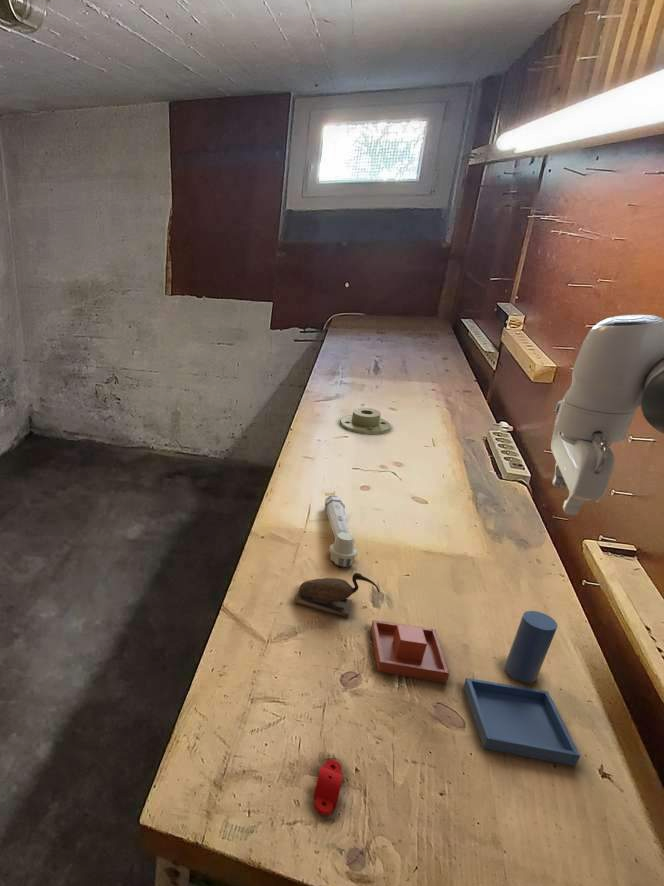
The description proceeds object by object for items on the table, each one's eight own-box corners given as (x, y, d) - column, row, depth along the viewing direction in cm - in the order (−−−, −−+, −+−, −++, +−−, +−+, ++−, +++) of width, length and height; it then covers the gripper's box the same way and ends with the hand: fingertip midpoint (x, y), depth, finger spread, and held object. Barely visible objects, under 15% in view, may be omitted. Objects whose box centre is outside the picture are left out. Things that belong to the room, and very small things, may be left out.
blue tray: (544, 700, 86) (548, 691, 85) (575, 766, 76) (580, 755, 75) (462, 687, 89) (466, 677, 88) (483, 748, 79) (487, 738, 78)
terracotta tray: (432, 638, 98) (435, 629, 98) (446, 682, 90) (449, 673, 89) (370, 628, 101) (372, 619, 100) (377, 671, 92) (380, 661, 91)
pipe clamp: (333, 819, 71) (335, 808, 70) (310, 809, 72) (312, 798, 71) (344, 767, 77) (346, 757, 76) (323, 759, 78) (325, 748, 77)
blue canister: (530, 665, 92) (550, 613, 88) (540, 685, 89) (562, 632, 84) (500, 660, 94) (518, 608, 89) (509, 680, 90) (528, 627, 85)
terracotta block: (417, 645, 96) (422, 627, 95) (422, 662, 93) (427, 644, 91) (392, 641, 97) (396, 623, 96) (396, 658, 94) (400, 640, 92)
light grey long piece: (345, 495, 137) (361, 539, 113) (342, 520, 139) (357, 568, 116) (322, 493, 138) (334, 536, 115) (319, 518, 140) (330, 565, 117)
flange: (384, 404, 189) (338, 404, 191) (397, 421, 176) (348, 420, 178) (382, 417, 192) (336, 416, 193) (395, 434, 178) (346, 433, 180)
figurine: (375, 610, 105) (383, 572, 102) (372, 625, 102) (380, 587, 98) (299, 589, 112) (304, 553, 108) (294, 602, 108) (299, 565, 104)
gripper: (637, 450, 77) (602, 535, 83) (601, 403, 93) (574, 476, 99) (581, 443, 80) (551, 525, 86) (555, 398, 96) (532, 470, 102)
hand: (563, 499), depth 93 cm, fingers open, 8 cm apart
